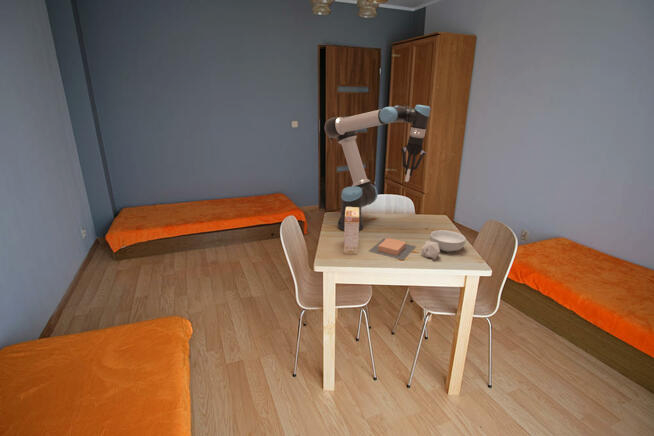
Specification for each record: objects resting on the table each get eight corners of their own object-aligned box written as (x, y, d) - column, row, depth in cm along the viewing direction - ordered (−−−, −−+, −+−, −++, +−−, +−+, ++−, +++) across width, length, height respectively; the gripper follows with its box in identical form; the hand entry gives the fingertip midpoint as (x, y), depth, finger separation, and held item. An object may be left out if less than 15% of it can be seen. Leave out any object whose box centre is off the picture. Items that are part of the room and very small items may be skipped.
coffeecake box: (344, 241, 183) (345, 206, 177) (357, 242, 182) (359, 207, 176) (343, 253, 169) (344, 215, 163) (357, 254, 168) (359, 216, 162)
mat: (368, 253, 170) (368, 251, 170) (383, 240, 185) (383, 238, 185) (403, 262, 161) (403, 260, 161) (416, 248, 176) (416, 246, 176)
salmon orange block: (387, 243, 179) (377, 251, 170) (387, 237, 178) (378, 245, 169) (405, 247, 174) (397, 256, 165) (406, 242, 174) (397, 250, 164)
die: (418, 254, 171) (417, 244, 163) (431, 244, 172) (431, 234, 165) (430, 266, 166) (430, 256, 158) (443, 255, 167) (444, 245, 160)
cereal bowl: (437, 256, 168) (439, 243, 165) (423, 243, 183) (425, 230, 181) (470, 254, 170) (472, 241, 168) (453, 241, 186) (455, 229, 183)
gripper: (402, 134, 177) (393, 179, 185) (428, 139, 172) (417, 185, 181) (405, 134, 183) (396, 177, 192) (430, 138, 179) (420, 182, 187)
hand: (406, 181), depth 186 cm, fingers closed
